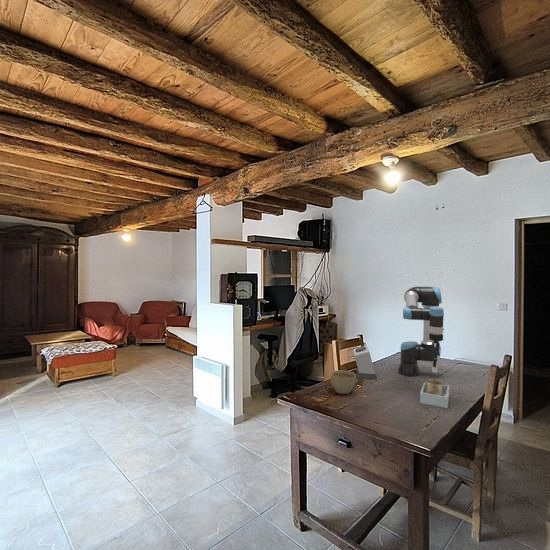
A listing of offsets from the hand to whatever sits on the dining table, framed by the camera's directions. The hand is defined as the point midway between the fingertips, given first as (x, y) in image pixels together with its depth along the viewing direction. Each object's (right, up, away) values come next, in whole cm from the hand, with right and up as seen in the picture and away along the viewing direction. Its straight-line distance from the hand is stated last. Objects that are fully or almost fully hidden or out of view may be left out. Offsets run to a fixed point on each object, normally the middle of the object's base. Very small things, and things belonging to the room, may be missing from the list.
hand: (435, 369), depth 197 cm
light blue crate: (0, -18, 0) cm, 18 cm away
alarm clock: (-29, -17, +46) cm, 58 cm away
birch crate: (0, -17, 0) cm, 17 cm away
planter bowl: (-52, -17, +11) cm, 56 cm away
